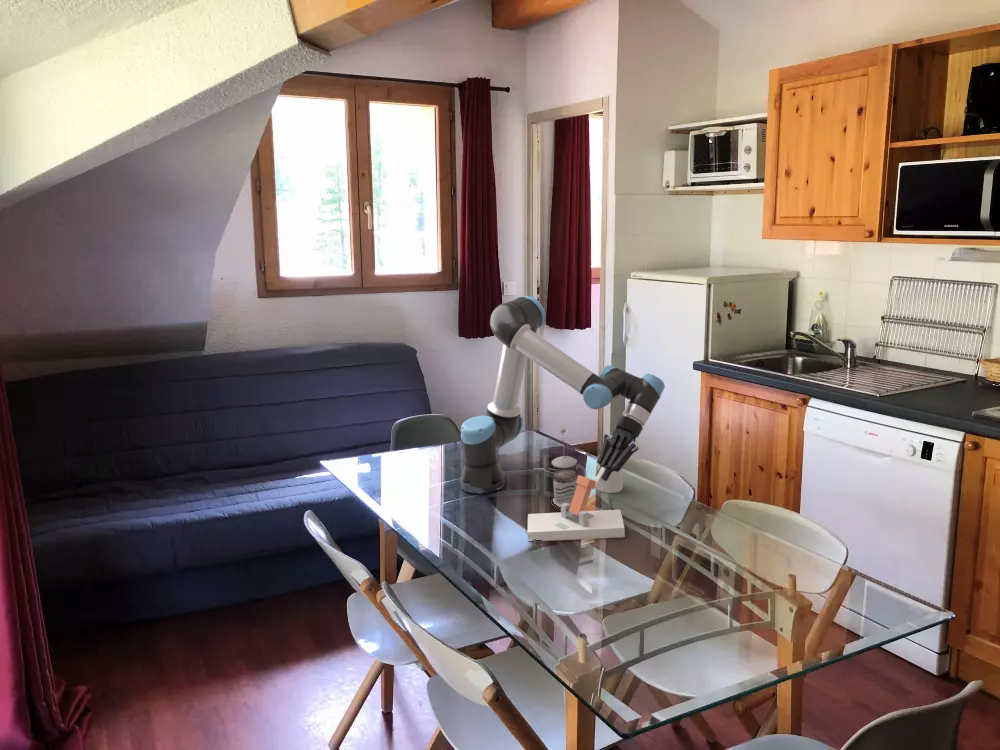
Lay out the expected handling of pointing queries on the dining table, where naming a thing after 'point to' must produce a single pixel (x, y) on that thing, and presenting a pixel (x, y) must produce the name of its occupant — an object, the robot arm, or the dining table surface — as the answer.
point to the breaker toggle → (580, 497)
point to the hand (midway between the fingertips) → (595, 488)
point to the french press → (564, 478)
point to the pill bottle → (613, 482)
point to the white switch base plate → (575, 525)
